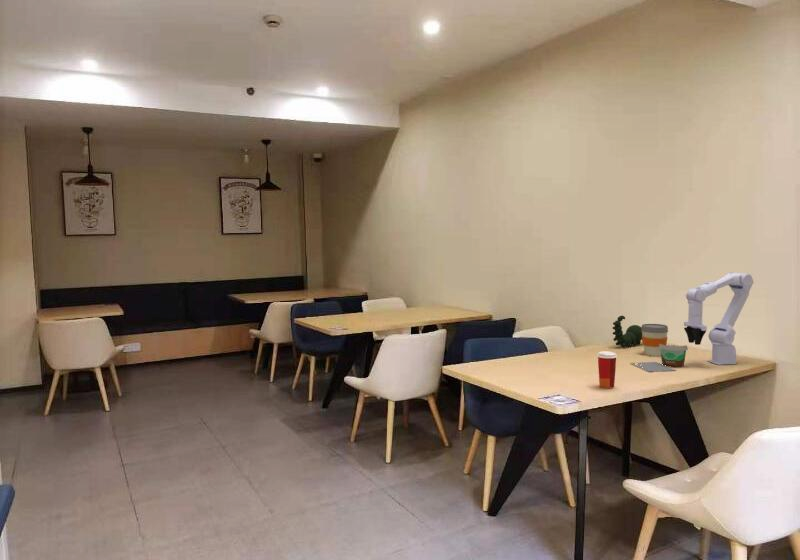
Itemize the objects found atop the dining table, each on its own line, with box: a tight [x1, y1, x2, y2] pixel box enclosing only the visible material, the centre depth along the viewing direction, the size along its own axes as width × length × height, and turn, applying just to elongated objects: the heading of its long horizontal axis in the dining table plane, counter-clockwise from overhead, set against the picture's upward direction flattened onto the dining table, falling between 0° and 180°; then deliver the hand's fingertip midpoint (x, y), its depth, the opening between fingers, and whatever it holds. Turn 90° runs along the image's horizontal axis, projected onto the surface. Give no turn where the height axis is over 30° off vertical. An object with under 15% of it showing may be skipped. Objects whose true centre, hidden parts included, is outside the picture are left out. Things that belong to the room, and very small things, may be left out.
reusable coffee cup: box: [641, 323, 669, 357], centre depth 285 cm, size 13×13×15 cm
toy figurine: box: [612, 315, 642, 348], centre depth 308 cm, size 9×19×25 cm
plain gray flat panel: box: [630, 361, 677, 373], centre depth 260 cm, size 13×17×1 cm
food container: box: [659, 344, 689, 368], centre depth 260 cm, size 12×6×10 cm, turn 62°
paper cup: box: [596, 350, 618, 389], centre depth 229 cm, size 8×8×14 cm
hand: (694, 343), depth 260 cm, fingers open, 4 cm apart
